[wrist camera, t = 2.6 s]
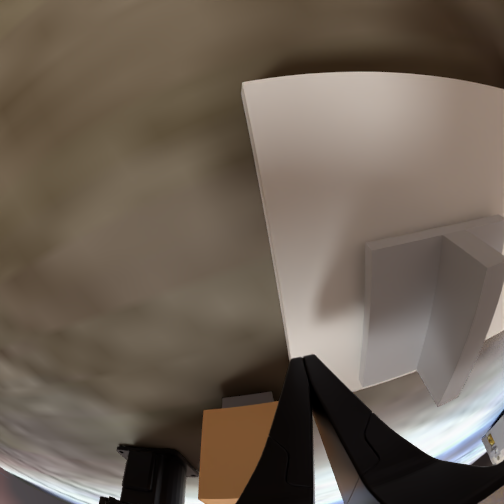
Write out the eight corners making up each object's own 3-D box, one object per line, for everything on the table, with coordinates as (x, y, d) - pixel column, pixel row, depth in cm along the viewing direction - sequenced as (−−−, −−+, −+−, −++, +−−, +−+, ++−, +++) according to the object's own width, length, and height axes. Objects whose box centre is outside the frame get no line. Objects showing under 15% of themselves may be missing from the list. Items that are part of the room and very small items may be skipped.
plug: (291, 419, 18) (305, 508, 12) (224, 428, 19) (224, 516, 12) (283, 380, 16) (302, 491, 10) (205, 391, 17) (198, 498, 10)
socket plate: (509, 291, 15) (532, 312, 12) (289, 363, 16) (297, 404, 13) (526, 102, 9) (560, 108, 6) (241, 93, 10) (242, 82, 7)
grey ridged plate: (470, 336, 12) (499, 373, 9) (358, 378, 12) (378, 430, 9) (498, 214, 9) (547, 243, 6) (364, 242, 9) (410, 292, 6)
